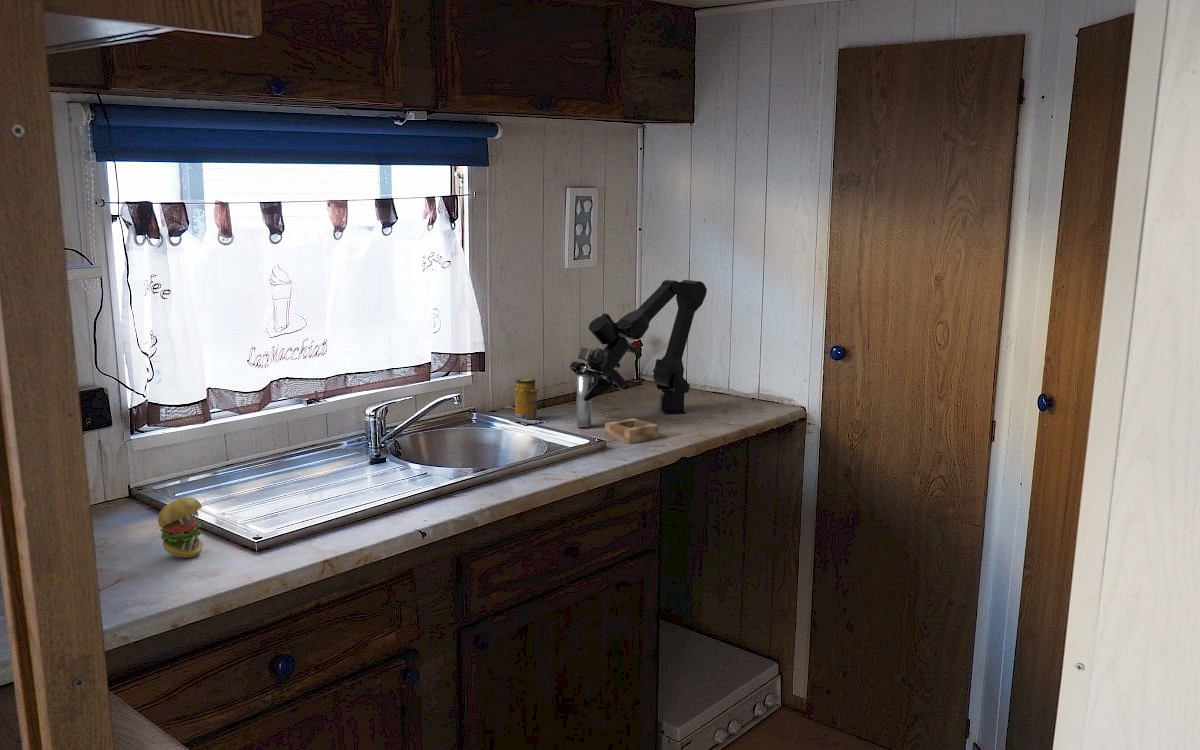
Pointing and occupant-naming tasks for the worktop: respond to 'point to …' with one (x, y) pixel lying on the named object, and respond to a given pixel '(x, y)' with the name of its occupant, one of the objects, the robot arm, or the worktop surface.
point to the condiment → (526, 399)
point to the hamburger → (181, 527)
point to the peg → (583, 401)
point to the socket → (631, 430)
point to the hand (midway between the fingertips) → (580, 399)
